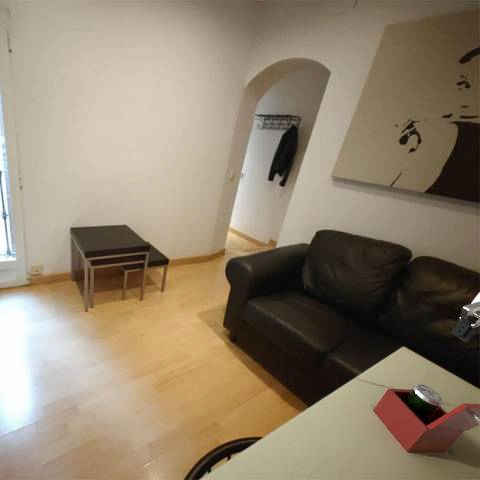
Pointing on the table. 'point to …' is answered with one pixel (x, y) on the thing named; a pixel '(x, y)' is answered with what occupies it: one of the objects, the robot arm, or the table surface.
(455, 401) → the table surface
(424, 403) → the beer can
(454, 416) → the lid
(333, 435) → the table surface
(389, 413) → the red open box
